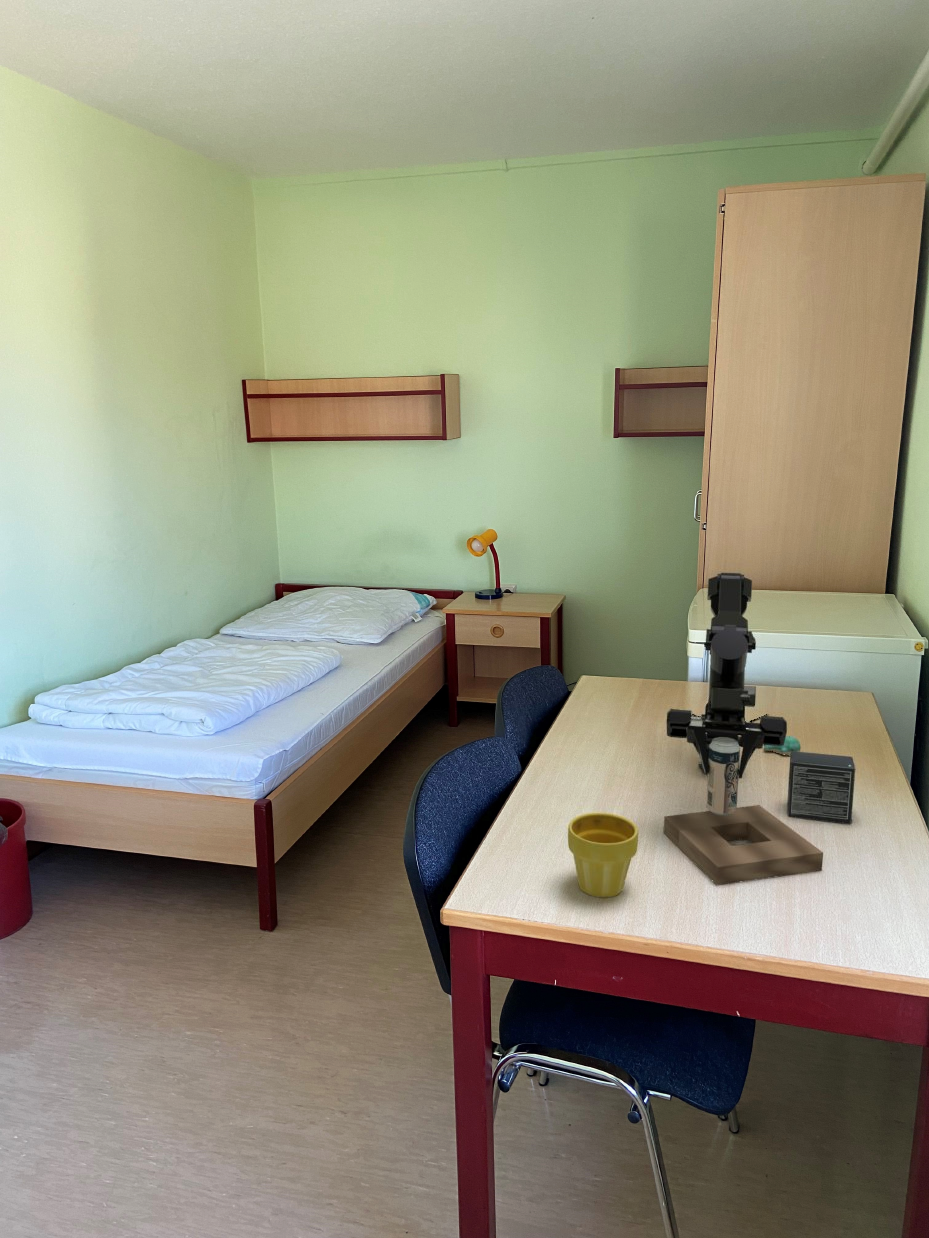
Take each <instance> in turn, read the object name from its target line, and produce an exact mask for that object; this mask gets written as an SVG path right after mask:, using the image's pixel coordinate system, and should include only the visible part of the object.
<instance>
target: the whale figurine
mask: <svg viewBox="0 0 929 1238" xmlns="http://www.w3.org/2000/svg"><path fill="white" fill-rule="evenodd" d="M763 749H764V750H765V751H766V752H772V751H773V753H775V752H777V753H781V754H785V755H784V756H786V755H789V756H788V757H790V754H791V751H797V752H801V750H802V749H801V743H800V740H798V739H797V738H796V737H794V736H791V735H789V736H788V735H786V738H785V742H784V745H782V746H771V745H763ZM777 753H776V754H777ZM781 754H780V755H781Z"/></svg>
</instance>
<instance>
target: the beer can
mask: <svg viewBox="0 0 929 1238" xmlns="http://www.w3.org/2000/svg"><path fill="white" fill-rule="evenodd" d="M740 760H741V747H740V746H739V744H738V742H737V741H736V740H735V739H732V738H728V737H718V738H714V739H713V740H712V743H711V744H710V745H709V760H708V775H707V783H706V804H705V805H706V806H705V808H706V809H707V811H711V812H712V813H714V814H716V815H722V816H726V815H730V814H732V813H735V812H736V810H737V808H738V805H737V804H738V791H739V788H738V787H739V767H740Z"/></svg>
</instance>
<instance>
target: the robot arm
mask: <svg viewBox="0 0 929 1238" xmlns="http://www.w3.org/2000/svg"><path fill="white" fill-rule="evenodd" d="M707 581H708V582H707V601H710V610H711V611H710V612H711V613H712V614H713V617H712V618H711V619H710V620H711V621H710V622H711V623H710V629H709V628H706V635H705V646H704V647H705V648H704V650H705V651H709V655H710V657H709V658H710V659H709V661H710V664H709V679H708V680H709V684H708V698H707V699H708V703H707V704H706V706H705V714H701V717H698V716H693V715H692V710H680V709H678V708H670V709H669V710H668V711H667V713H666V736H667V737H668V738H676V739H686V742H687V743H689V744H693V747H694V748H695V751H696V752H697V755H698V757H699V759H700V763H699V764H698V768H699V769H700V770H703V773H704V774H705V775H706V776H708V760H709V745H710V744H711V743H712V740H713V739H714V738H718V737H728V738H732V739H735V740H736V741H737V742H738V744H739V746H740V748H742V751H741V755H740V760H739V776H738V779H742V778H743V776H744V774H745V770H746V768H747V765H748V763H749V761H750V759H751V757H753V754H754V753H755V751H756V750H759V749H760V750H761V749H763V748H764V745H771V746H782V745H784V742H785V738H786V737H787V732H788V723H787V720H786V719H785V718H784V717H783V716H773V715H772V716H771V715H765V716H761V717H760V718H759V719H760V720H759V722H746V721H745V708H755V706H756V697H757V696H756V694H757V692H756V691H757V689H756V686H755V685H754V686H753V685H745V680H746V679H745V676H746V674H745V673H746V667H747V666H746V665H747V658H748V654H752V653H753V651H754V650H755V651H756V648H757V645H756V644H757V643H756V638H755V636H754V634H753V631H752V630H751V631H750V630H749V620H748V619H747V618H745V617H744V615H745V613H746V612H747V609H748V603H751V601H752V593H753V580H752V579H749V578H747V577H745V574H742V573H740V572H720V573H717V575H715V576H714V577H710V578H708V579H707Z"/></svg>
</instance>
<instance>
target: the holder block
mask: <svg viewBox="0 0 929 1238" xmlns="http://www.w3.org/2000/svg"><path fill="white" fill-rule="evenodd" d="M663 834H664V835H666V837H668V839H670V840H671V842H672V843H673V844H675V846H677V847H678V849H679V850H680V851H682V852H683V853H684V854H685V855H686V857H688V858H689V859H690V860H691V861H692V862H693V863H694V864H695V865H696V866H697V867H698V868H699V869H700V870H701V871H702V872H703V873H704V874H705V875H706V876H707V877H708V878H709V879H710V880H711V881H712V880H713V881H712V882H713V883H714V882H715V883H714V885H716V886H721V885H728V883H729V884H734V883H735V882H736V883H741V882H740V881H743V882H746V881H745V880H750V881H756V880H755V879H757V880H762V878H764V879H769V878H768V877H771V878H776V877H775V876H778V877H784V876H791V875H792V876H793V875H798V874H799V875H800V874H804V873H805V874H806V873H813V872H821V871H823V860H824V851H822V850H820V849H819V848H818V847H817V846H815V845H814V844H812V843H811V842H810V841H809V840H807V839H806V838H805V837H803V836H801V835H800V834H799V833H797V832H796V831H795V830H794V829H792V828H791V827H789V825H787V824H786V823H784V822H783V821H781V820H780V819H779V818H777V817H776V816H775V815H774V814H772V813H771V812H770V811H768V809H765V808H764V807H762V806H761V805H760V804H756V805H755V804H754V805H747V806H737V810H736V812H735V813H732V814H730V815H726V816H722V815H716V814H714V813H712V812H711V811H709V810H707V811H698V812H689V813H682V814H673V815H665V816H664V818H663ZM745 839H747V841H749V842H750V843H744V844H737V845H731V844H730V843H729V841H737V840H745Z"/></svg>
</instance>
